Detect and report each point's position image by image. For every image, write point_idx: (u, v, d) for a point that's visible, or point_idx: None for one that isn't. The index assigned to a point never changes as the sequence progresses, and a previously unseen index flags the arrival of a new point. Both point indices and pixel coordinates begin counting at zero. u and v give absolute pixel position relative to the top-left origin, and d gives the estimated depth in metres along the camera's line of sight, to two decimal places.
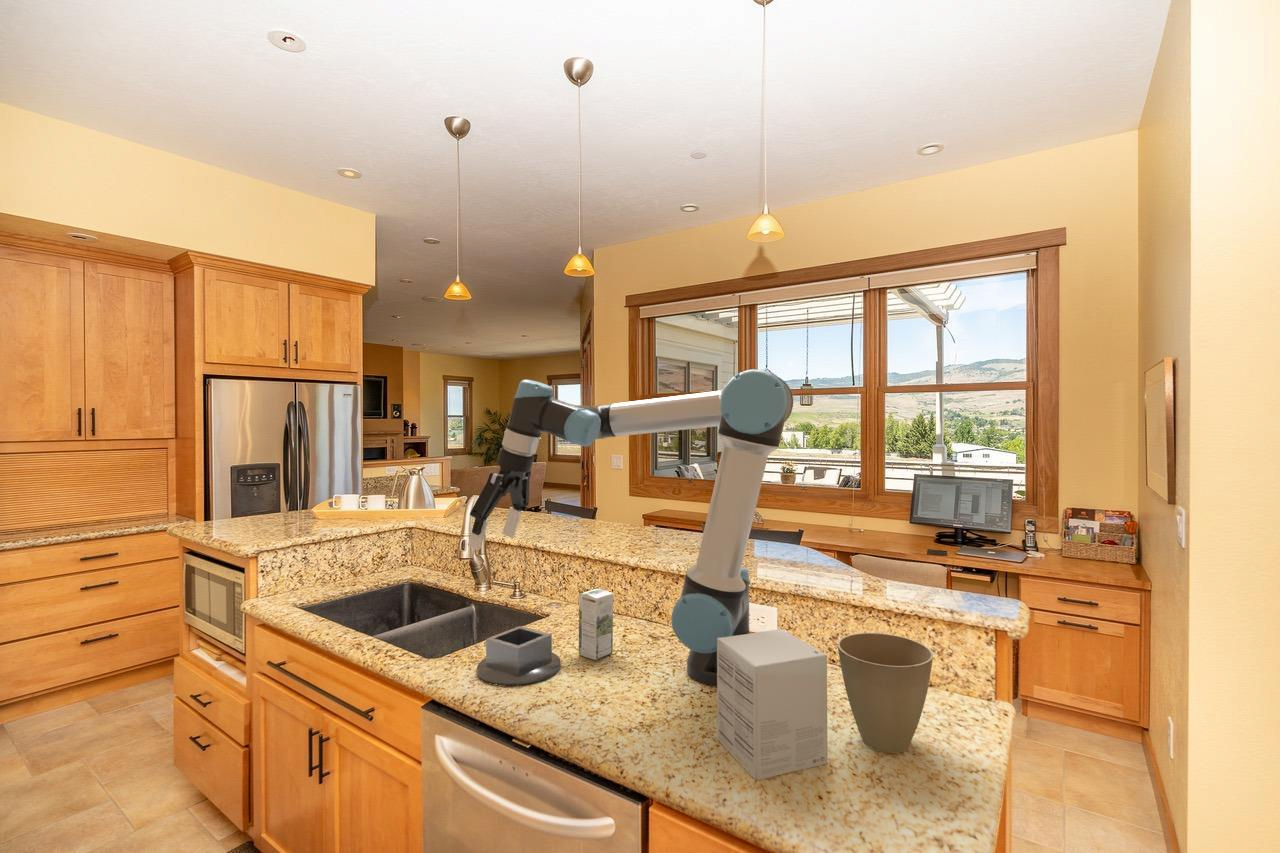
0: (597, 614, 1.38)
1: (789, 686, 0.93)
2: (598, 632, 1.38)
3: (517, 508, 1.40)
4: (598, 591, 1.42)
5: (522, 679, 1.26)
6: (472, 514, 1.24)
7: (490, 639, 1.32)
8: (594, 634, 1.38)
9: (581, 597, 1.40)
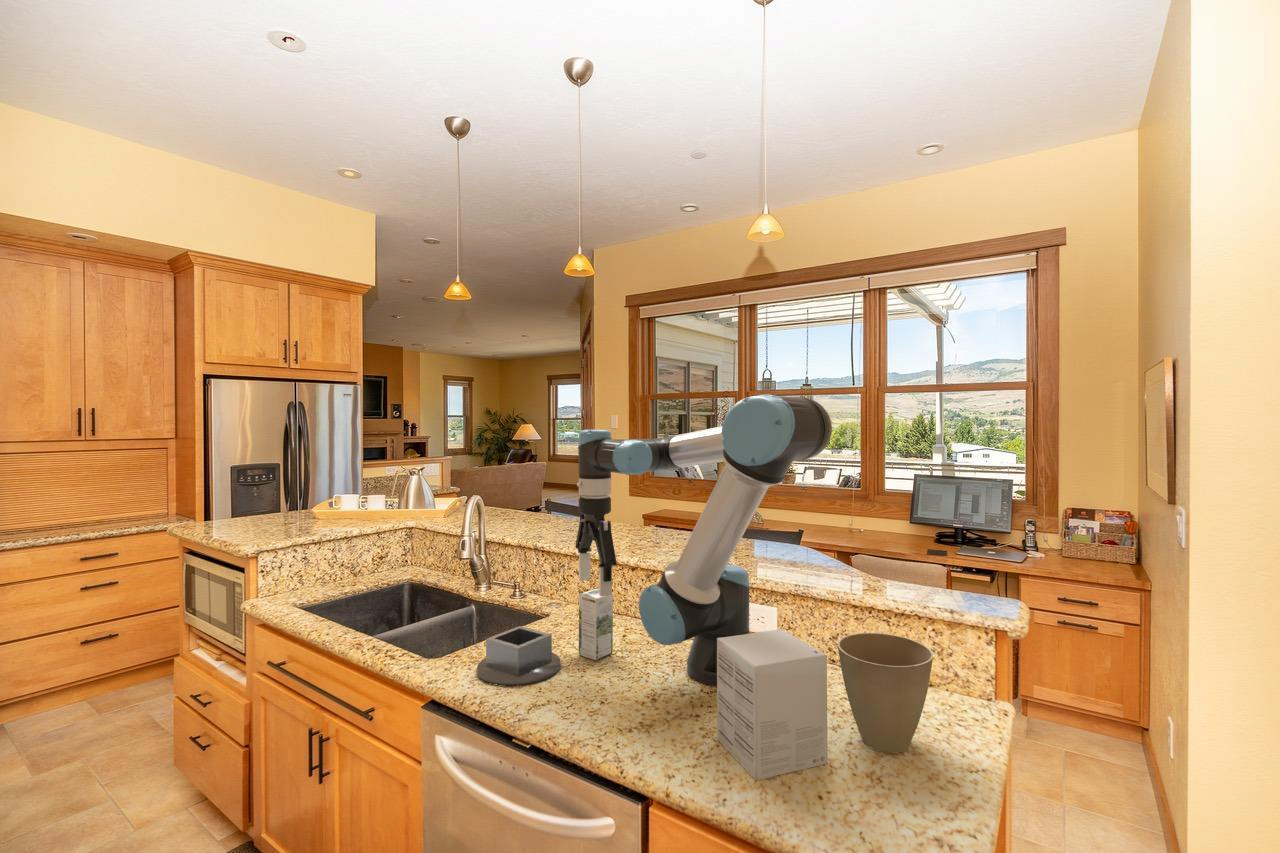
0: (597, 614, 1.38)
1: (789, 685, 0.93)
2: (598, 632, 1.38)
3: (585, 551, 1.48)
4: (598, 591, 1.42)
5: (522, 679, 1.26)
6: (608, 563, 1.32)
7: (490, 639, 1.32)
8: (594, 634, 1.38)
9: (581, 597, 1.40)
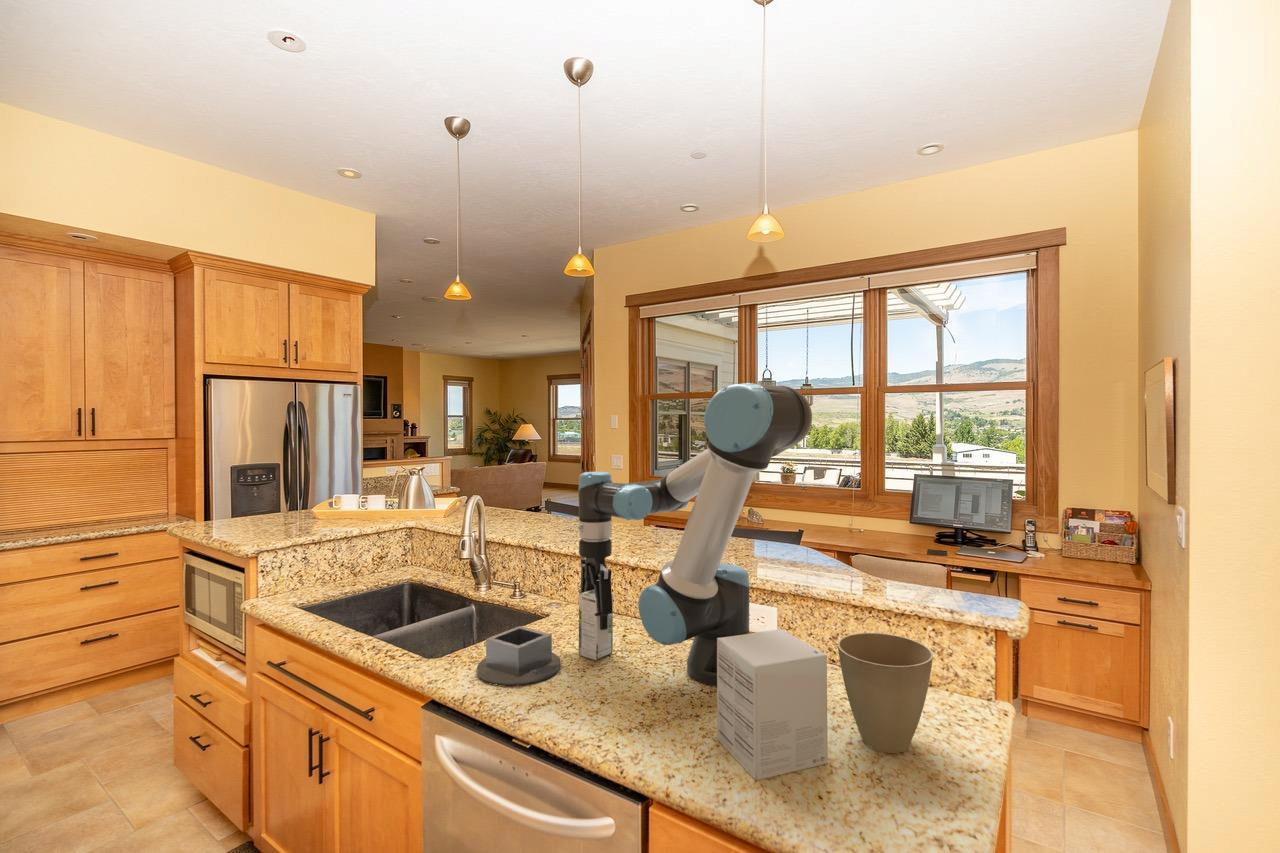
0: None
1: (789, 686, 0.93)
2: None
3: None
4: None
5: (522, 679, 1.26)
6: (605, 612, 1.34)
7: (490, 639, 1.32)
8: (594, 634, 1.38)
9: (581, 597, 1.40)
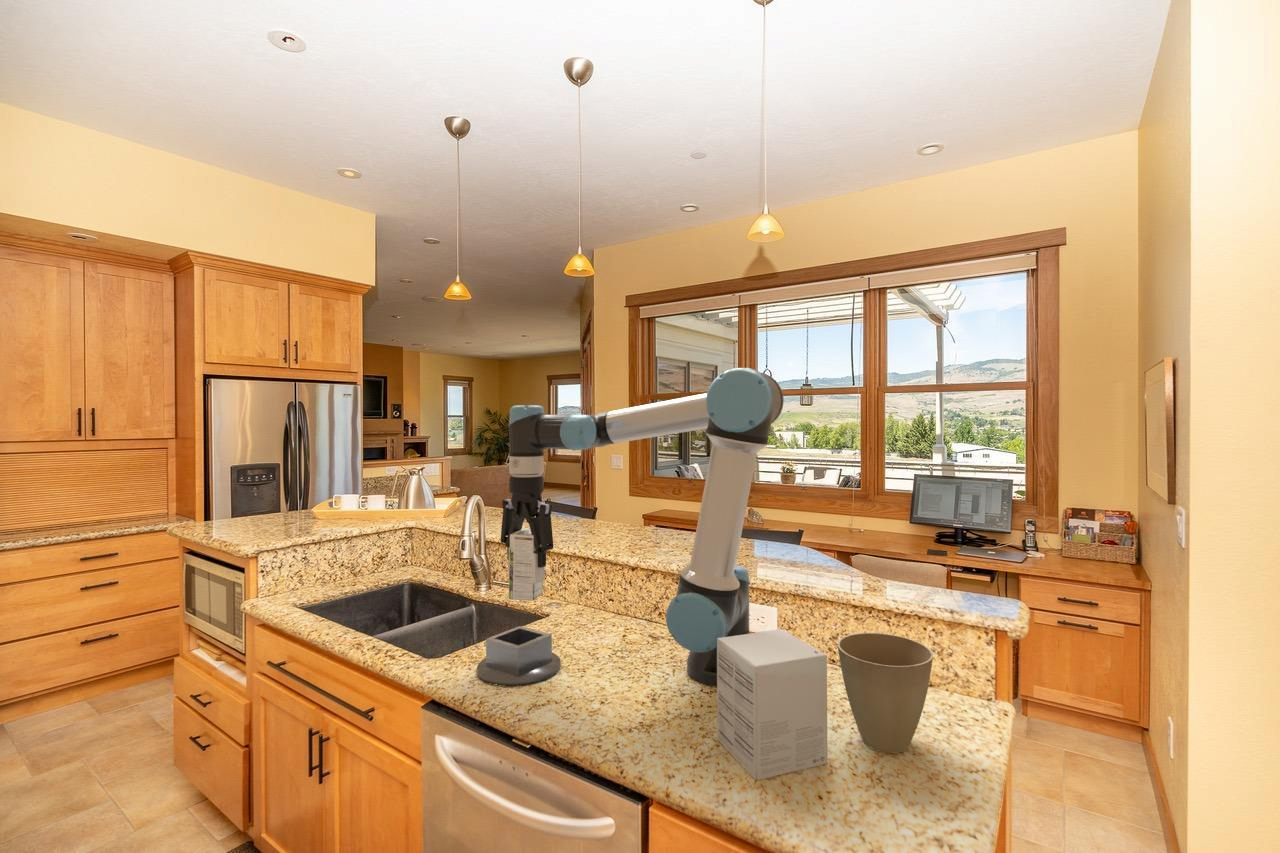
0: None
1: (789, 686, 0.93)
2: None
3: None
4: (527, 530, 1.35)
5: (522, 679, 1.26)
6: (547, 548, 1.30)
7: (490, 639, 1.32)
8: (530, 573, 1.31)
9: (513, 537, 1.32)
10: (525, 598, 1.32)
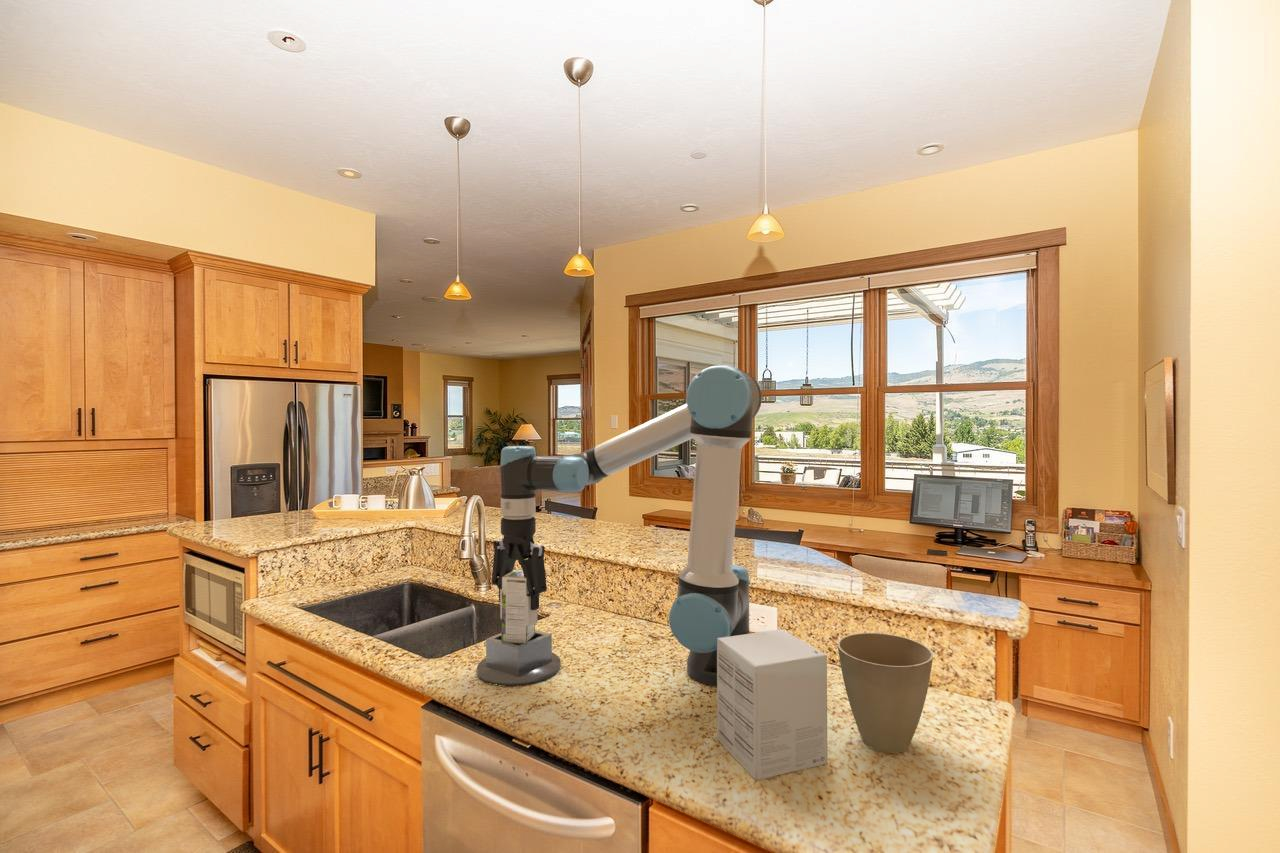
0: None
1: (789, 686, 0.93)
2: None
3: None
4: (519, 572, 1.34)
5: (522, 679, 1.26)
6: (540, 591, 1.29)
7: (490, 639, 1.32)
8: (523, 616, 1.30)
9: (505, 580, 1.31)
10: (518, 641, 1.31)
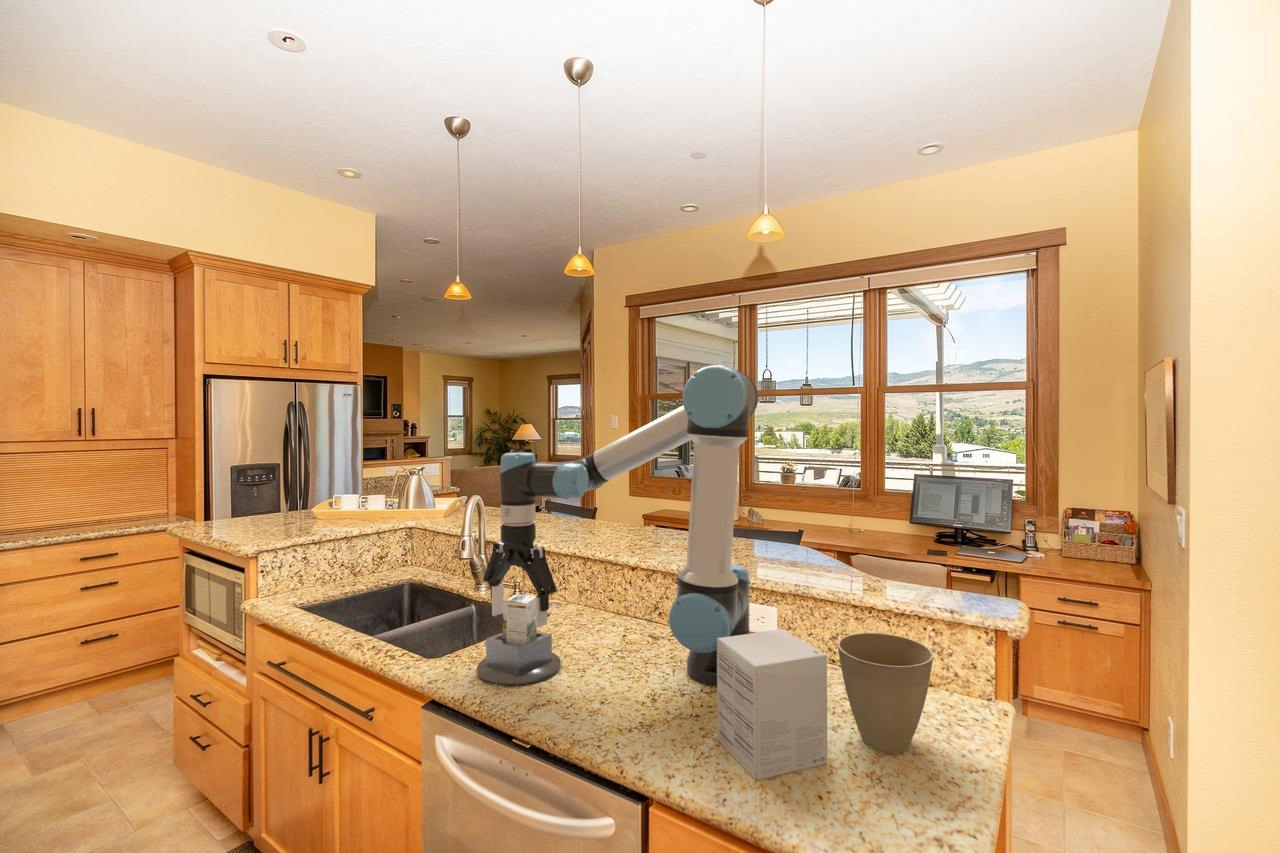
0: (527, 620, 1.31)
1: (789, 686, 0.93)
2: (528, 639, 1.31)
3: (497, 583, 1.38)
4: (521, 596, 1.34)
5: (522, 679, 1.26)
6: (550, 592, 1.27)
7: (490, 639, 1.32)
8: (524, 642, 1.30)
9: (506, 605, 1.31)
10: None
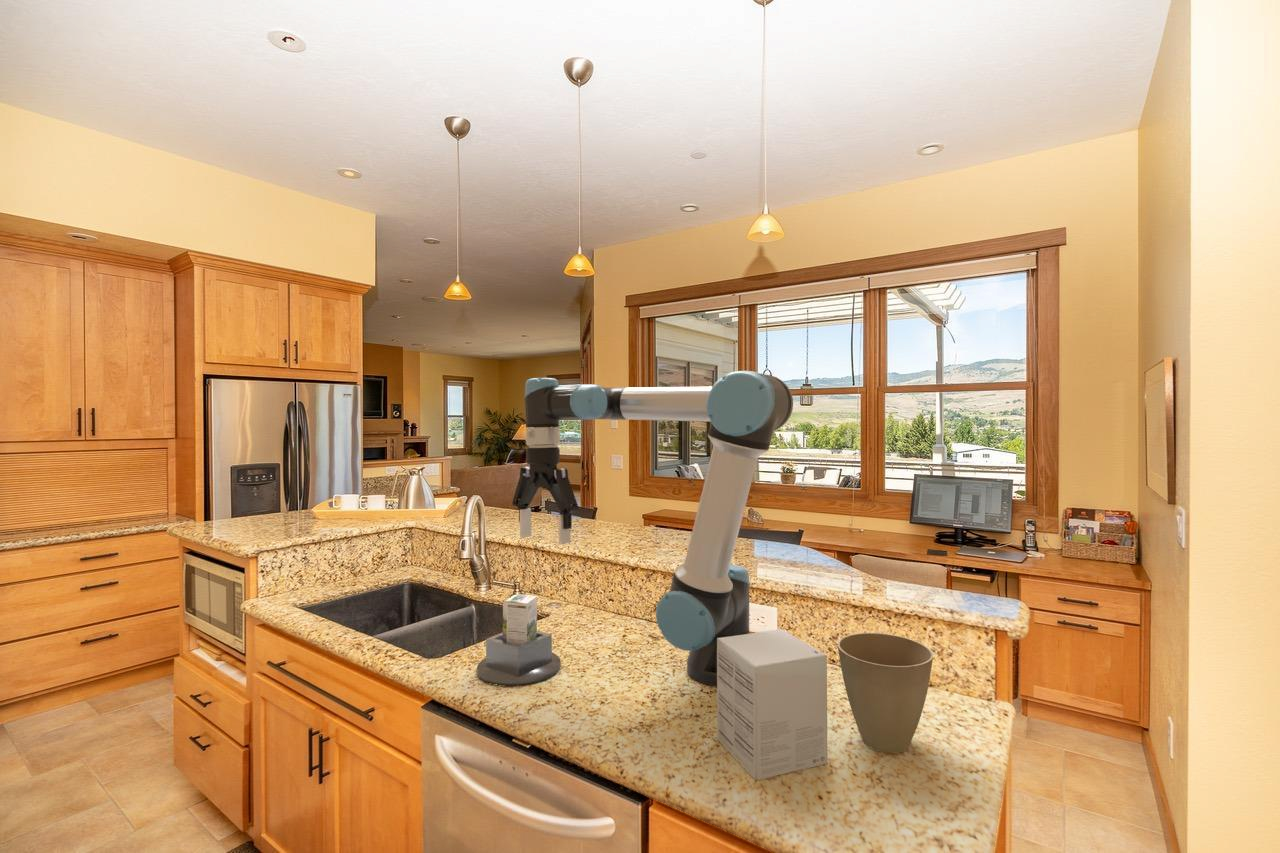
0: (527, 620, 1.31)
1: (789, 686, 0.93)
2: (528, 639, 1.31)
3: (525, 507, 1.43)
4: (521, 596, 1.34)
5: (522, 679, 1.26)
6: (572, 509, 1.31)
7: (490, 639, 1.32)
8: (524, 642, 1.30)
9: (506, 605, 1.31)
10: None
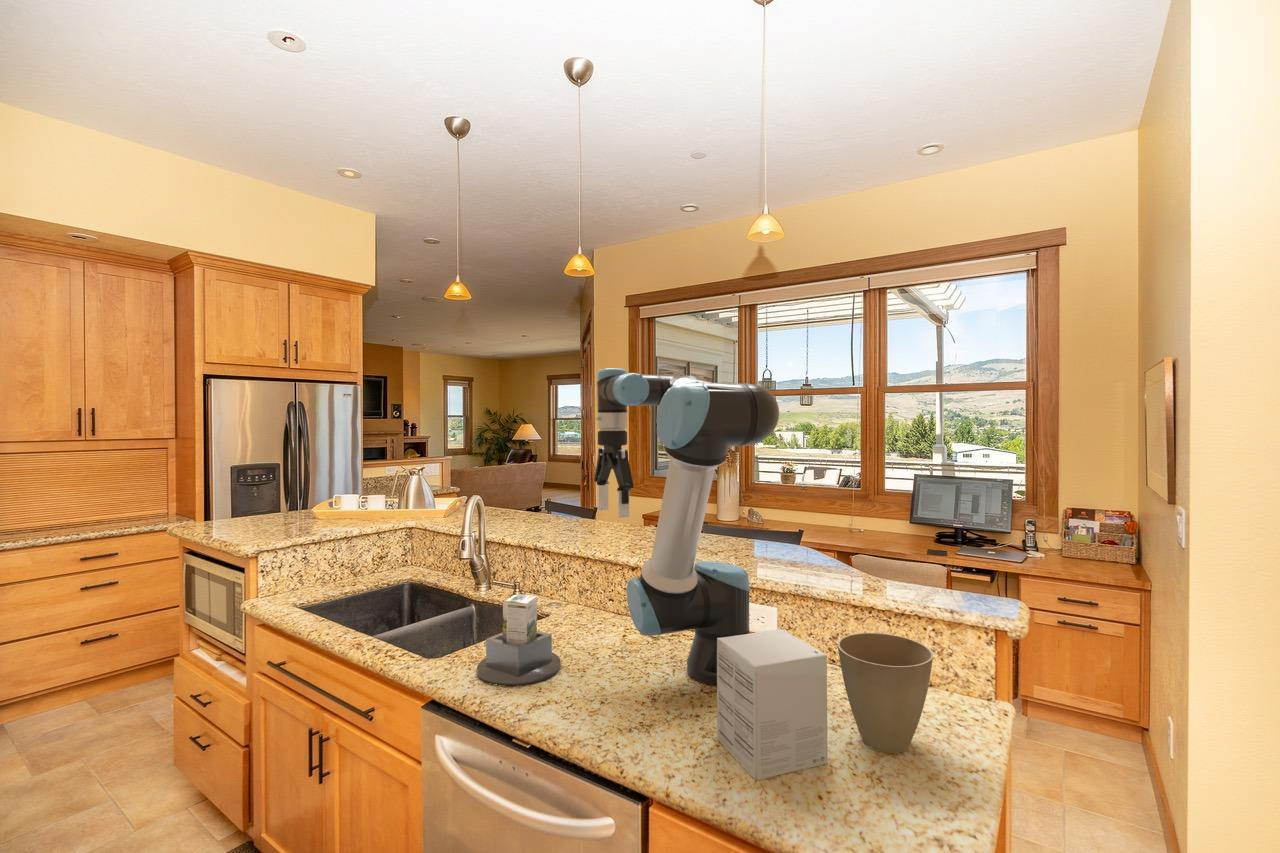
0: (527, 620, 1.31)
1: (789, 686, 0.93)
2: (528, 639, 1.31)
3: (603, 483, 1.61)
4: (521, 596, 1.34)
5: (522, 679, 1.26)
6: (626, 486, 1.45)
7: (490, 639, 1.32)
8: (524, 642, 1.30)
9: (506, 605, 1.31)
10: None
